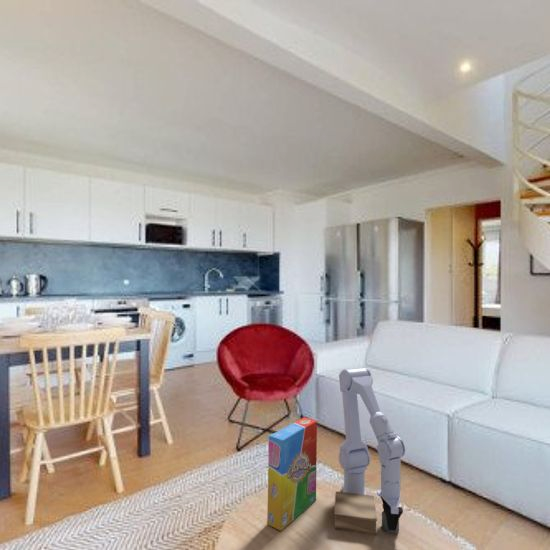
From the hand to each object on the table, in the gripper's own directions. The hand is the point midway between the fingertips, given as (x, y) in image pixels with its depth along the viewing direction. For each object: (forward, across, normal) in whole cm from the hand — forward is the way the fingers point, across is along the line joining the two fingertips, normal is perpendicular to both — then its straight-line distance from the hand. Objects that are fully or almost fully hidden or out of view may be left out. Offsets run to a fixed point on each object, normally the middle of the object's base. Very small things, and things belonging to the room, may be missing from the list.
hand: (390, 523), depth 113 cm
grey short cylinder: (+1, 0, 0) cm, 1 cm away
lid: (-3, -2, -10) cm, 11 cm away
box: (+1, -3, -10) cm, 11 cm away
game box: (+2, -4, -30) cm, 30 cm away
